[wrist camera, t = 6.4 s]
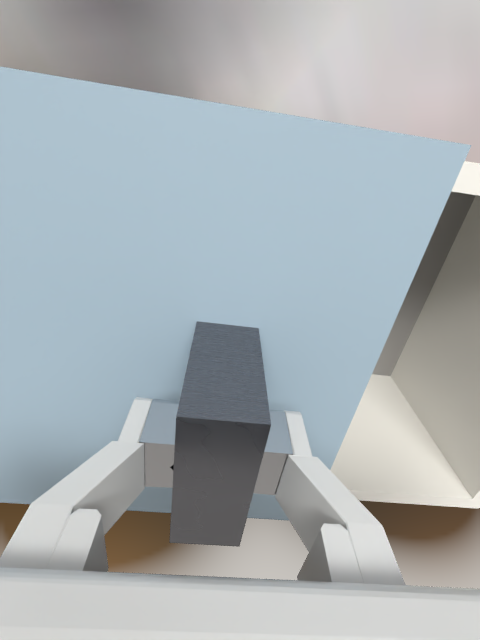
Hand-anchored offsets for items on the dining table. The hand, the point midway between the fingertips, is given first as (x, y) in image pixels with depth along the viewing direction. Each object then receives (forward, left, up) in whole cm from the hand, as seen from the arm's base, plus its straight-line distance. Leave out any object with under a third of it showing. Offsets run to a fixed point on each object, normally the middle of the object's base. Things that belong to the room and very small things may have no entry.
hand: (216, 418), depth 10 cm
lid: (-4, 0, -2) cm, 5 cm away
